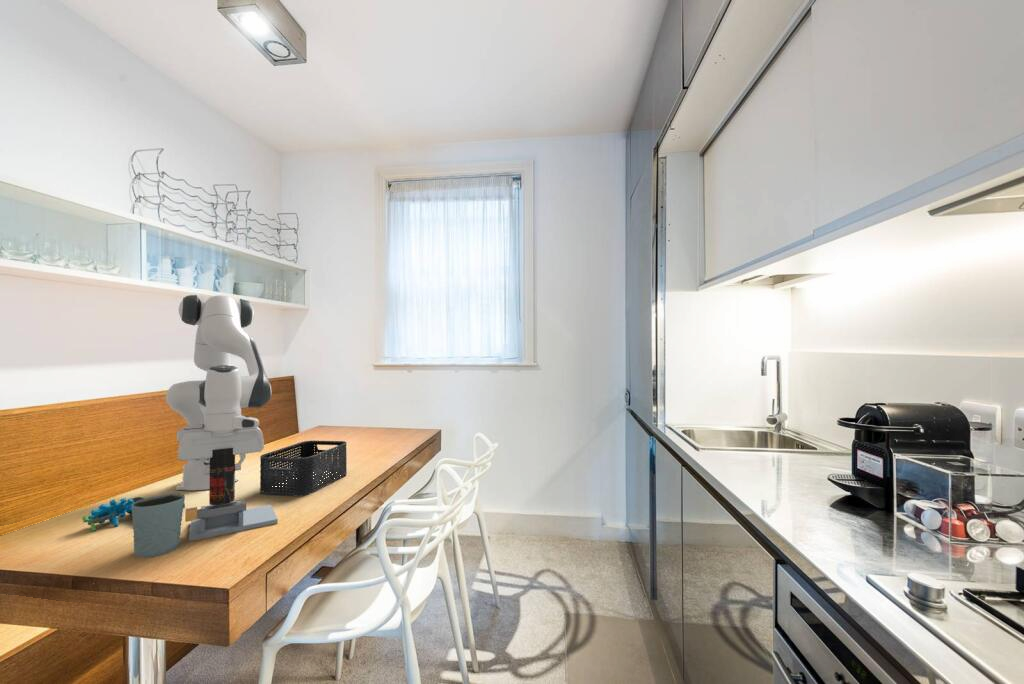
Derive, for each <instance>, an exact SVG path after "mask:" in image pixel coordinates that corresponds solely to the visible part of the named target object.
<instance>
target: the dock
mask: <svg viewBox="0 0 1024 684" xmlns="http://www.w3.org/2000/svg"><path fill="white" fill-rule="evenodd" d="M239 502H242V501H241V499H239V500H234V501H233V502H230V503H227V504H233V503H239ZM227 504H222V505H227ZM215 506H221V505H210V504H209V505H203V506H202V505H201V506H200V509H204V508H209V507H215ZM275 524H278V517H277V515H276V512H275V509H274V508H273V505H272V504H268V505H262V506H256V507H251V508H246V511H241V512H236V513H230V514H225V515H219V516H213V517H208V518H202V519H197V520H193V521H190V526H189V537H188V542H192V541H197V540H202V539H207V538H212V537H217V536H222V535H227V534H231V533H235V532H242V531H246V530H250V529H256V528H260V527H261V528H262V527H265V526H271V525H275Z"/></svg>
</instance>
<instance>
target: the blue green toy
mask: <svg viewBox="0 0 1024 684" xmlns="http://www.w3.org/2000/svg"><path fill="white" fill-rule="evenodd" d="M108 503H109V504H107V505H106V504H104V503H101V504H100V505H99V506H98V509H92V510H91V511H90V515H85V516H82V521H83V523H87V525H88V526H90V528H91V531H92V532H96V530H97V529H96V525H95V524H99V525H100V524H104V523H106V521H109V522H110V523H111V522H112V524H113V527H114V528H115V527H119V525H120V523H119V520H118V518H124V517H125V516H126V513H127V512H131V511H132V508H131V505H132V504H133V503H134V501H133V499H132V498H129V499H127V497H124V498H123V497H122V498H120V499H119V502H117V501H116V499H113V500H110V501H109V502H108Z"/></svg>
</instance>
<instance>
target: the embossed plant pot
mask: <svg viewBox="0 0 1024 684" xmlns="http://www.w3.org/2000/svg"><path fill="white" fill-rule="evenodd" d="M181 494H182V493H180V494H173V493H171V494H170V493H169V494H161V495H154V496H151V497H146V498H144V499H142V500H139V501H136V502H134V503H133V504H132V505H131V508H132V515H131V517H132V519H131V520H132V526H133V527H132V529H133V531H132V532H133V553H134V556H135V557H136V558H139V557H142V558H141V559H143V557H146V558H153V557H158V556H161V555H165V554H168V553H171V552H172V551H175V550H176V549H177V548H179V547H180V543H181V537H180V536H181V532H182V530H181V529H182V520H183V513H184V508H183V506H184V503H185V500H186V498H185V497H186V496H184V495H185V494H184V495H181Z"/></svg>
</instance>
